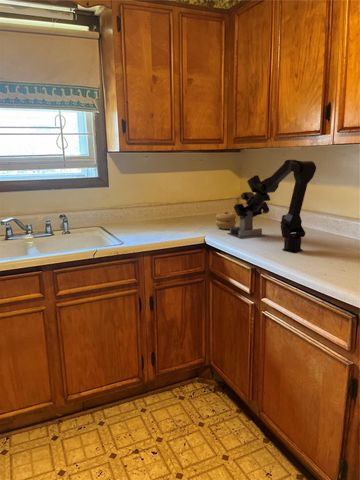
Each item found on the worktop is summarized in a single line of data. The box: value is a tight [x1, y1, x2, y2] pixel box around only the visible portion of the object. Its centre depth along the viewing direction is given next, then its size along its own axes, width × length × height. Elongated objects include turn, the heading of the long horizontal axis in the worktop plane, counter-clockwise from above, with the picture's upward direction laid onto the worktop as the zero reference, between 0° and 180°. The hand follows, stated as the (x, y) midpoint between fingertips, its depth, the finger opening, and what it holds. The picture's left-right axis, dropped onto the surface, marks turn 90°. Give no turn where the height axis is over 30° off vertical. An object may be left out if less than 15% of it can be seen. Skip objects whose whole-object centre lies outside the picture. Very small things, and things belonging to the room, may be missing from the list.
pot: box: [215, 210, 237, 230], centre depth 214 cm, size 12×12×10 cm
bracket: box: [227, 226, 266, 240], centre depth 198 cm, size 13×15×4 cm
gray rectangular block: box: [239, 205, 254, 231], centre depth 196 cm, size 5×5×13 cm
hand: (244, 218), depth 197 cm, fingers closed on gray rectangular block, 5 cm apart
